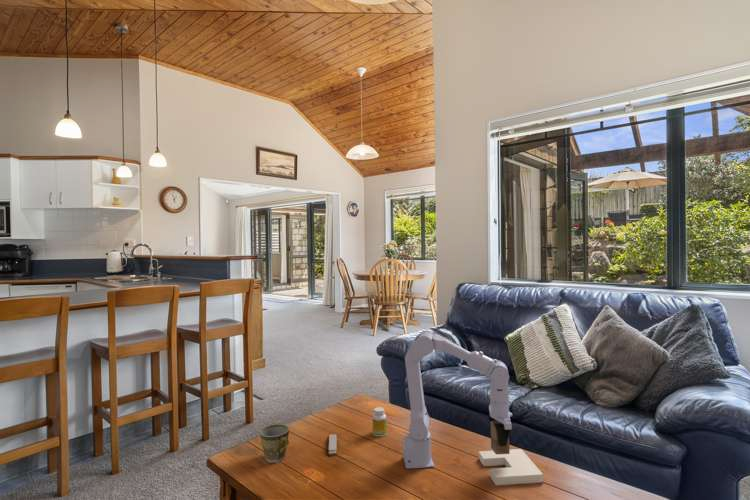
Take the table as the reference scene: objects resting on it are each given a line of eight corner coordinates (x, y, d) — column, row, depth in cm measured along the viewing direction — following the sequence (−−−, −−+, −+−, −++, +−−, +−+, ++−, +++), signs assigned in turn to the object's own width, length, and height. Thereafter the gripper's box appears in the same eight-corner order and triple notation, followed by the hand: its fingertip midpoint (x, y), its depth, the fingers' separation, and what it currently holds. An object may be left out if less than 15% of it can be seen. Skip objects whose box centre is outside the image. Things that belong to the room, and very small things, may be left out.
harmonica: (328, 437, 159) (328, 432, 159) (336, 437, 159) (336, 432, 159) (327, 457, 144) (327, 451, 144) (336, 456, 144) (336, 451, 144)
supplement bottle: (385, 437, 157) (384, 412, 157) (371, 436, 158) (371, 411, 158) (387, 431, 162) (387, 406, 162) (374, 430, 163) (373, 406, 163)
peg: (496, 454, 131) (495, 426, 130) (491, 447, 135) (490, 420, 135) (509, 453, 131) (509, 425, 131) (504, 446, 135) (503, 419, 135)
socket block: (495, 485, 125) (495, 477, 125) (479, 458, 141) (478, 451, 140) (543, 482, 126) (543, 474, 126) (521, 456, 142) (521, 448, 142)
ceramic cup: (255, 458, 143) (254, 430, 143) (279, 448, 151) (278, 421, 150) (276, 472, 134) (275, 442, 134) (300, 460, 142) (300, 431, 142)
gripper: (521, 408, 126) (521, 452, 126) (502, 391, 140) (503, 430, 140) (498, 409, 125) (499, 453, 125) (482, 392, 140) (483, 431, 140)
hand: (500, 441), depth 133 cm, fingers closed on peg, 4 cm apart
